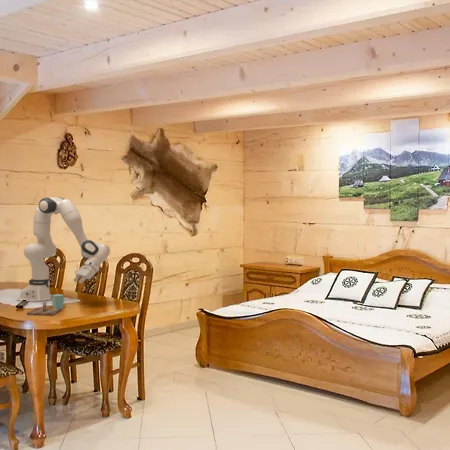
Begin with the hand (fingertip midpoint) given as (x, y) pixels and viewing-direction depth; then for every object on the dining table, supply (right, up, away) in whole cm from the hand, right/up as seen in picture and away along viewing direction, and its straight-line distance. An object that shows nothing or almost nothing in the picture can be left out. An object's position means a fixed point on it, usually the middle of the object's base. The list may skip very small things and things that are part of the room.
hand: (76, 282), depth 389 cm
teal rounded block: (-11, -16, -6) cm, 20 cm away
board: (-14, -16, -23) cm, 31 cm away
